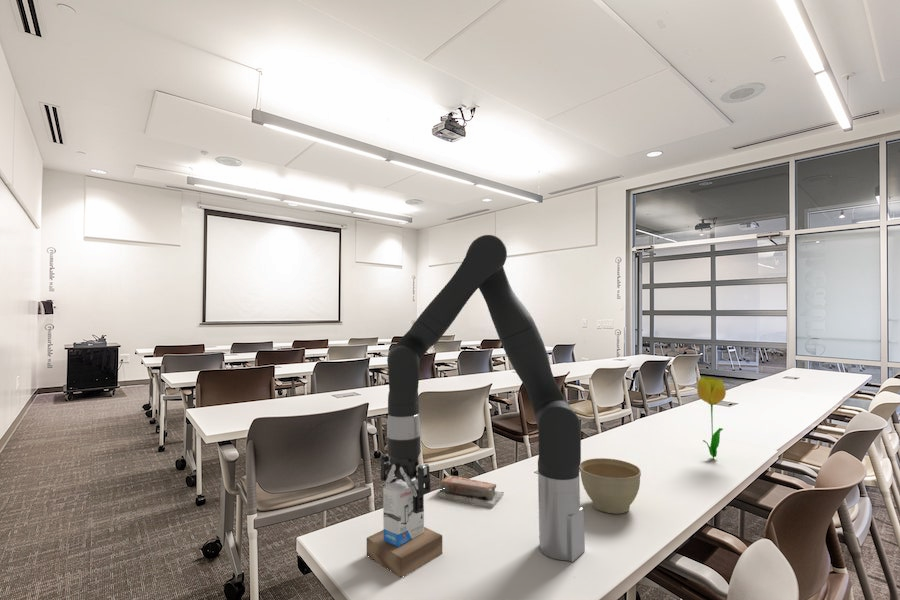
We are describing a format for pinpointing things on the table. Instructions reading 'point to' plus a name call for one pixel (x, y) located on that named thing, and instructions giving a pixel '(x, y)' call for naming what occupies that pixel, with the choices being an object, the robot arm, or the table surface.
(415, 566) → the walnut base
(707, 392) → the flower
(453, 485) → the packaged product
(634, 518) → the table surface
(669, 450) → the table surface
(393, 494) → the ink box
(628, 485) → the planter bowl
